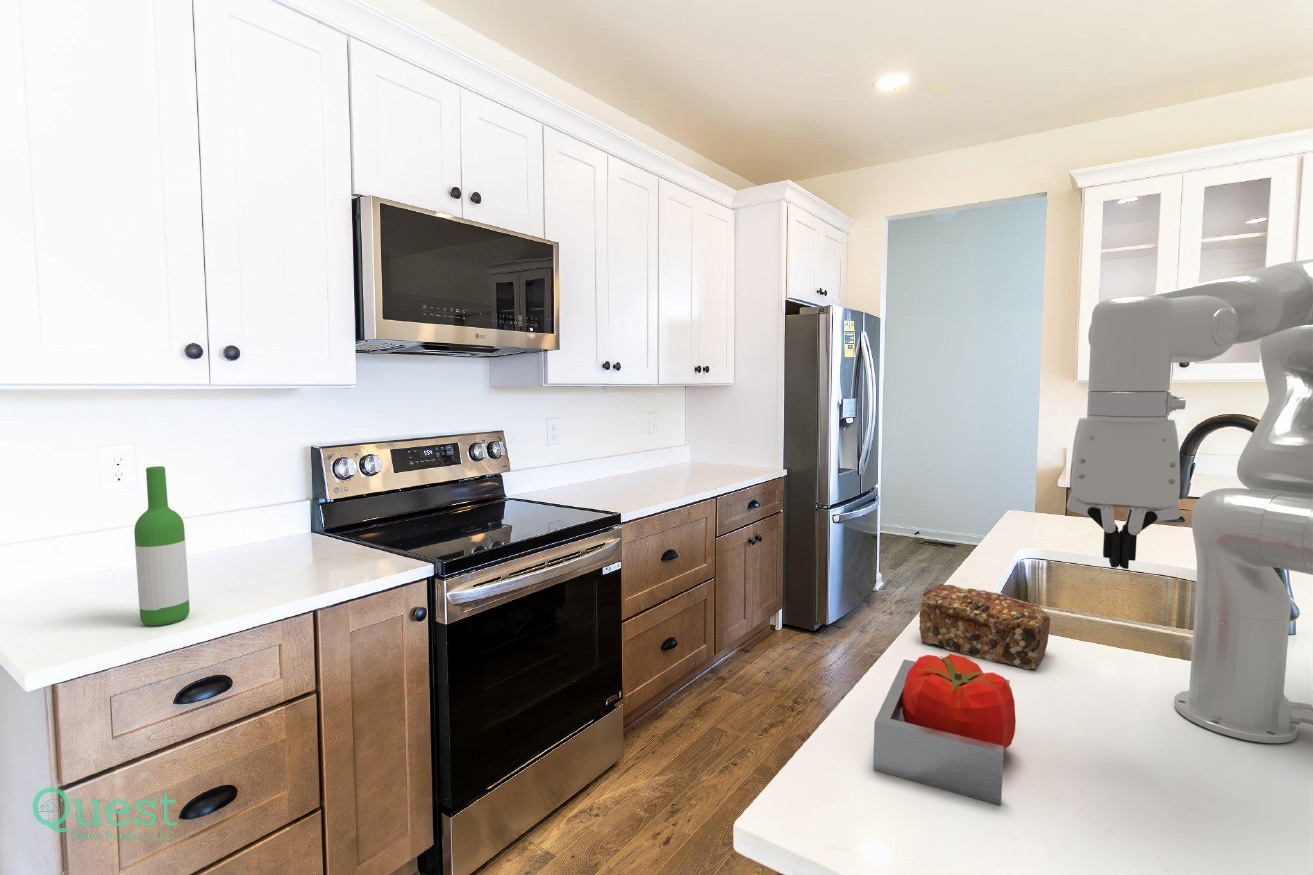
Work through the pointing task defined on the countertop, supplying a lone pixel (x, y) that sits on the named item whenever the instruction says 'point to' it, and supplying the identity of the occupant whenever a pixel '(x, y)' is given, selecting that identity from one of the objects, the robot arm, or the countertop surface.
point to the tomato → (959, 699)
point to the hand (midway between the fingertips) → (1118, 564)
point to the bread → (984, 625)
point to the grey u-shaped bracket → (934, 751)
